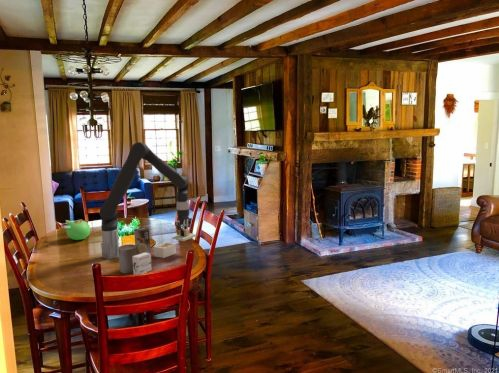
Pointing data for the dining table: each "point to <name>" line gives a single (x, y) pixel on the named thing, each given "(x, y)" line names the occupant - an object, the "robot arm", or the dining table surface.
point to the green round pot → (77, 229)
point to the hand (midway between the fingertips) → (184, 235)
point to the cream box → (164, 250)
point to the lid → (184, 235)
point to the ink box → (142, 263)
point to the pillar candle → (126, 258)
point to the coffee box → (142, 240)
